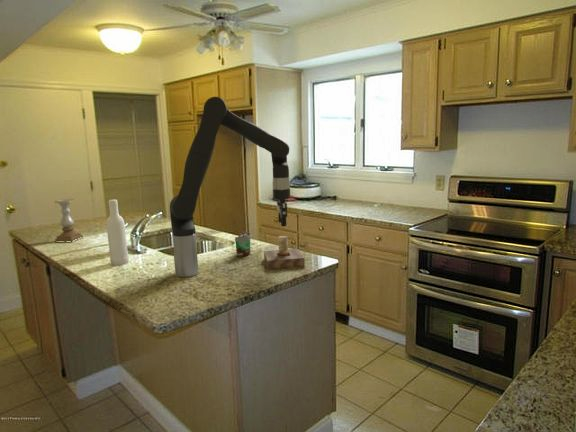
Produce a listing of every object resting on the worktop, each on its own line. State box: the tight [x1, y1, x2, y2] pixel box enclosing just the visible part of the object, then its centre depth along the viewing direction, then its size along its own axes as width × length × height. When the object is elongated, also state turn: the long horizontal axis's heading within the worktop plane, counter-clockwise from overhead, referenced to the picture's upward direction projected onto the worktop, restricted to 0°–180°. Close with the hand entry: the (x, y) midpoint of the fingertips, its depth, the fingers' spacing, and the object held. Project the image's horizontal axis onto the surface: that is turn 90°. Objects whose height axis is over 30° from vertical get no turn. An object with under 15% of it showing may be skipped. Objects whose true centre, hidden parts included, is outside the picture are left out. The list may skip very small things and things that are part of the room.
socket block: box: [263, 248, 305, 271], centre depth 186 cm, size 16×16×4 cm
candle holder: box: [53, 198, 84, 242], centre depth 242 cm, size 11×11×24 cm
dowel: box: [277, 235, 289, 256], centre depth 185 cm, size 4×4×12 cm
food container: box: [234, 231, 253, 258], centre depth 202 cm, size 12×6×10 cm, turn 168°
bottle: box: [105, 199, 129, 266], centre depth 191 cm, size 8×8×30 cm
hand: (282, 224), depth 183 cm, fingers open, 8 cm apart
